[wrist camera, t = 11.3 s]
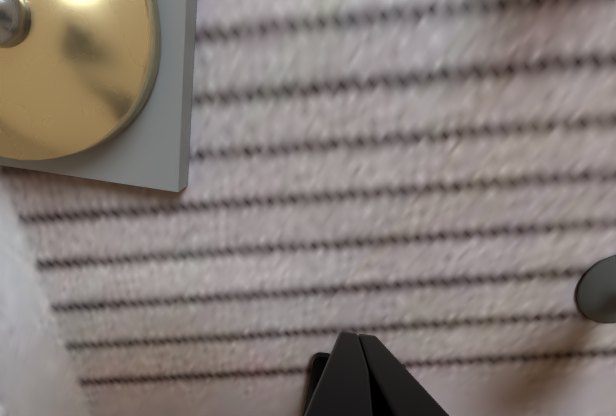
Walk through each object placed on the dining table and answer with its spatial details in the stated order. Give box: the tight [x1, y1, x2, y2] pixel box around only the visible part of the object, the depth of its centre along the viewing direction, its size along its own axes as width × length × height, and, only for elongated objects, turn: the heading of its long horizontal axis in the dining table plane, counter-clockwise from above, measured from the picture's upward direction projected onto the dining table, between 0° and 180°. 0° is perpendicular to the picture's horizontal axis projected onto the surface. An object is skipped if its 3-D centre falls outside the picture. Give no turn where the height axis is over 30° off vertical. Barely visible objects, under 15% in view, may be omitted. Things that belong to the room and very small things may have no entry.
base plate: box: [0, 0, 197, 192], centre depth 17 cm, size 15×15×2 cm
